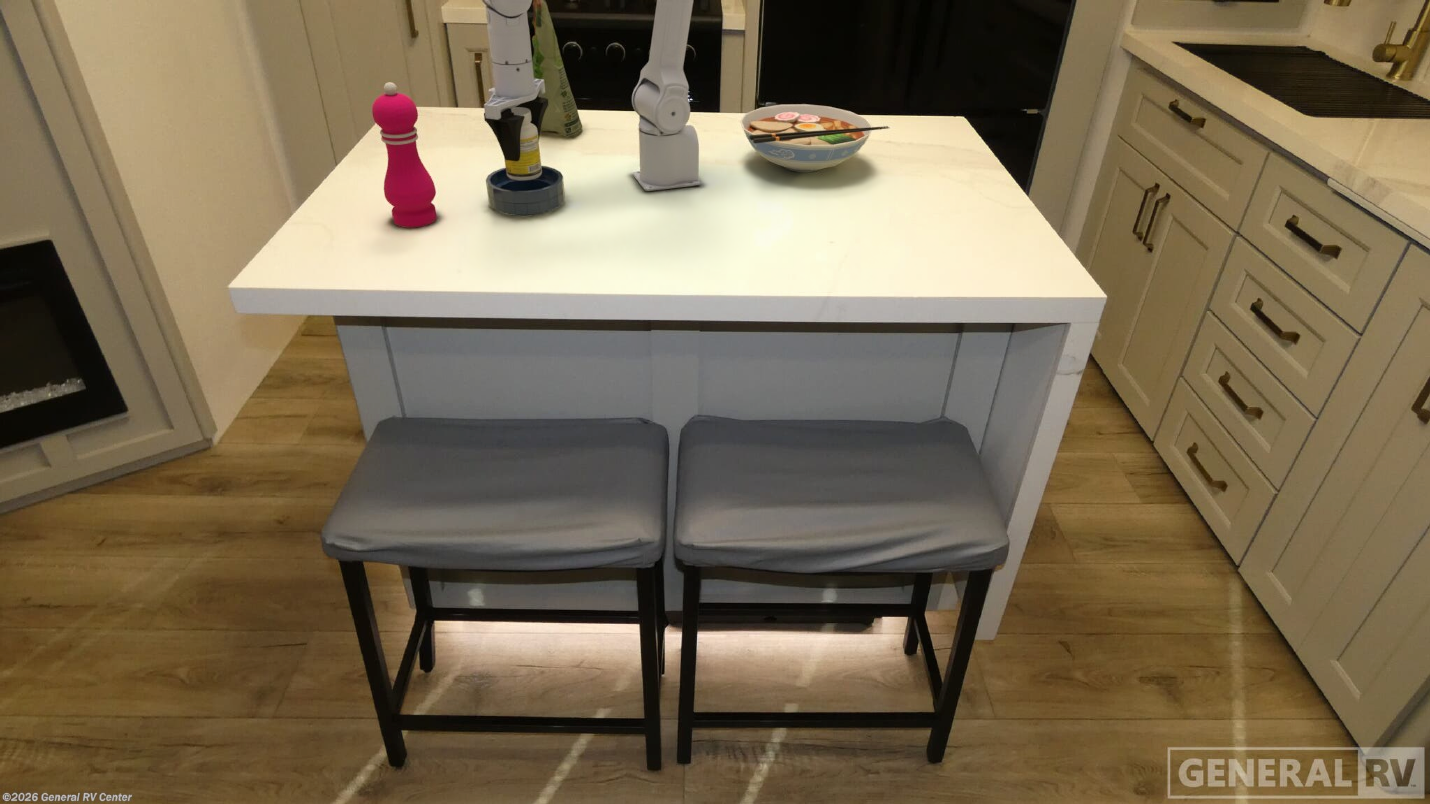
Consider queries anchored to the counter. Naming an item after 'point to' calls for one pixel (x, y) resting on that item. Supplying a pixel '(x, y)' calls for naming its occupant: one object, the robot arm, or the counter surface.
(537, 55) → the pouch
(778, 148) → the ramen bowl
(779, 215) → the counter surface
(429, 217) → the pepper mill
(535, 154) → the supplement bottle
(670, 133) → the robot arm
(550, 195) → the bowl
